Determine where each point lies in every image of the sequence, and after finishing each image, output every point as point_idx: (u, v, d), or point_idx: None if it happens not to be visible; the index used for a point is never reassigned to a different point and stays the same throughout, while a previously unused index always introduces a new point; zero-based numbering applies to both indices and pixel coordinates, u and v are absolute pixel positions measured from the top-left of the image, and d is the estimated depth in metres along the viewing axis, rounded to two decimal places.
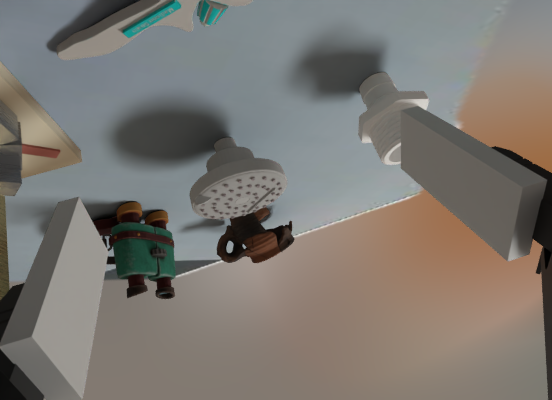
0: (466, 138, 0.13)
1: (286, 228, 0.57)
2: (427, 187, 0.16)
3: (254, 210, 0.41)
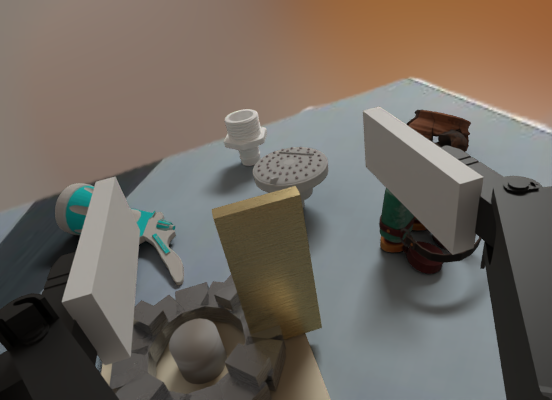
0: (418, 138, 0.14)
1: None
2: (387, 184, 0.16)
3: (313, 152, 0.51)
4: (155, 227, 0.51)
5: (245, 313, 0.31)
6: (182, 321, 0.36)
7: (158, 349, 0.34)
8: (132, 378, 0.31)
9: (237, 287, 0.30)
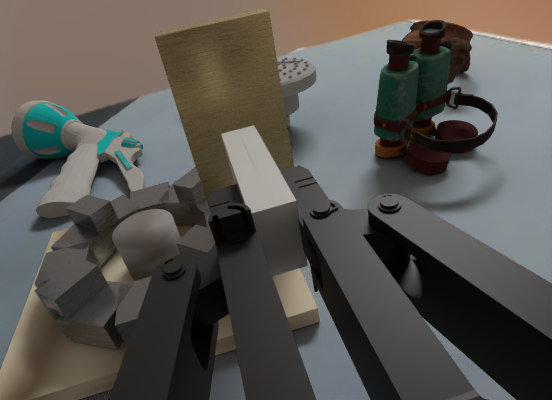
0: (266, 159, 0.15)
1: None
2: None
3: (300, 60, 0.44)
4: (120, 145, 0.45)
5: (206, 191, 0.25)
6: None
7: (104, 249, 0.28)
8: None
9: (193, 150, 0.24)
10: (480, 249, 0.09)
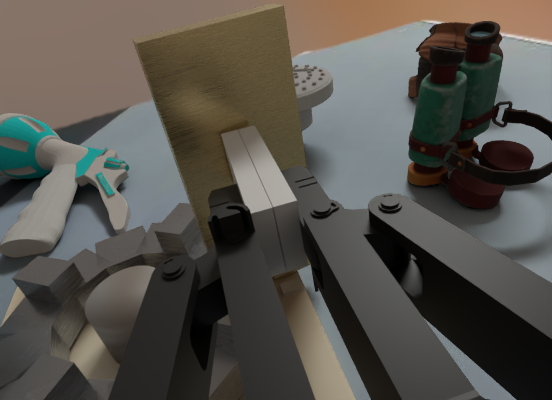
0: (267, 159, 0.15)
1: (416, 49, 0.46)
2: None
3: (313, 68, 0.38)
4: (102, 166, 0.39)
5: (207, 240, 0.20)
6: None
7: (71, 325, 0.22)
8: (22, 371, 0.18)
9: (190, 190, 0.18)
10: (481, 249, 0.09)
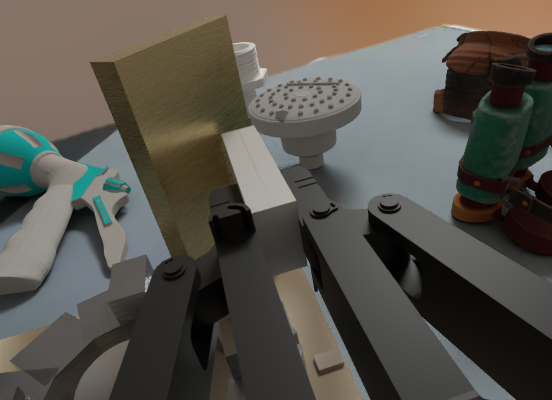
0: (266, 159, 0.15)
1: None
2: None
3: (338, 81, 0.34)
4: (101, 187, 0.35)
5: None
6: (61, 393, 0.18)
7: None
8: None
9: (179, 223, 0.16)
10: (480, 249, 0.09)
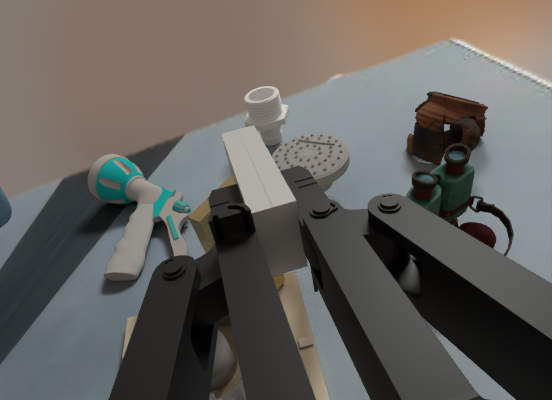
0: (266, 159, 0.15)
1: (416, 109, 0.53)
2: None
3: (334, 141, 0.48)
4: (171, 208, 0.52)
5: None
6: None
7: None
8: None
9: None
10: (480, 249, 0.09)
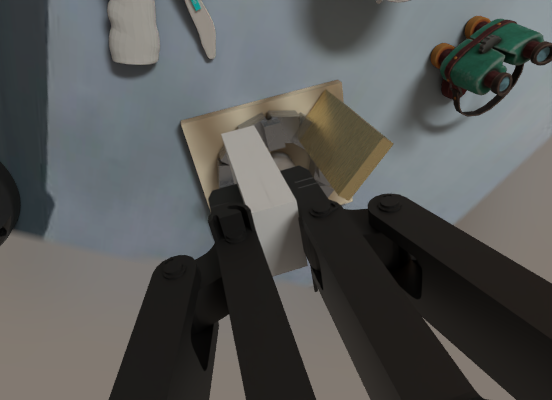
0: (266, 159, 0.15)
1: None
2: None
3: None
4: None
5: None
6: None
7: None
8: None
9: None
10: (480, 249, 0.09)
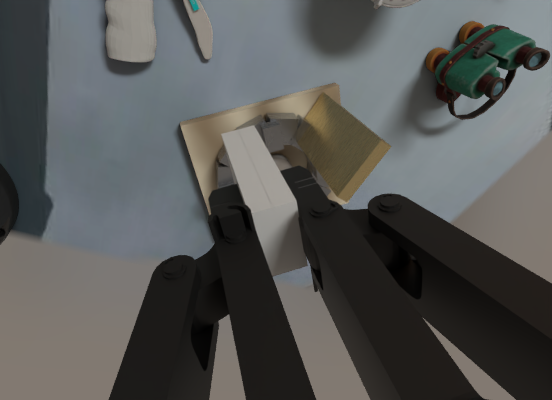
0: (266, 159, 0.15)
1: None
2: None
3: None
4: None
5: None
6: None
7: None
8: None
9: None
10: (480, 249, 0.09)
